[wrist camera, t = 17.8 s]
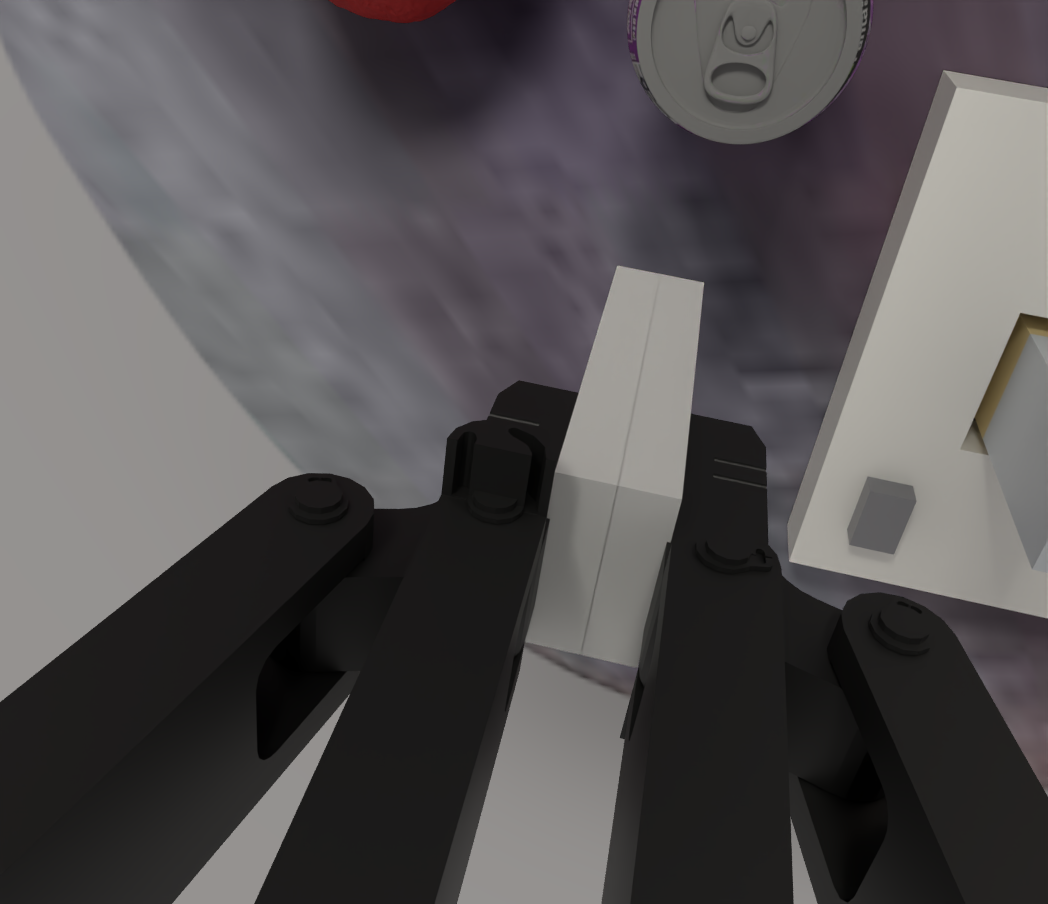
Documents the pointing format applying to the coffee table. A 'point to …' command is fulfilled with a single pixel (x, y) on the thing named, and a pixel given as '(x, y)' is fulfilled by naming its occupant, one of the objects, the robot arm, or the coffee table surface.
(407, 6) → the pomegranate
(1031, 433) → the plug
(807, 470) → the socket plate
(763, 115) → the beverage can
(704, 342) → the coffee table surface
